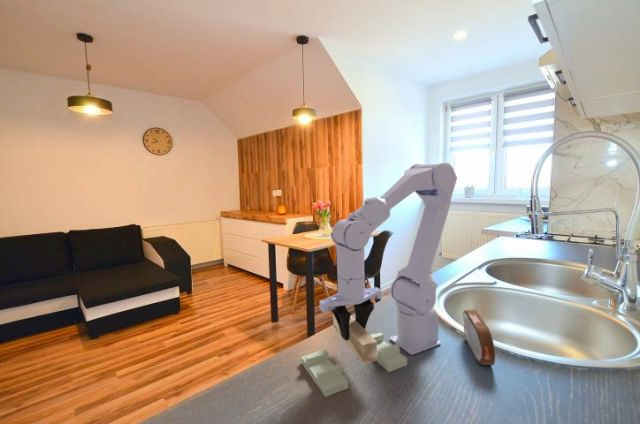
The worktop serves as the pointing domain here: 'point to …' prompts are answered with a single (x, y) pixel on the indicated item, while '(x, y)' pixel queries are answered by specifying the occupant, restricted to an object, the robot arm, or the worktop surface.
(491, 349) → the brown rounded slab
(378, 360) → the stand
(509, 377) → the worktop surface
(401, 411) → the worktop surface
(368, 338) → the bar
